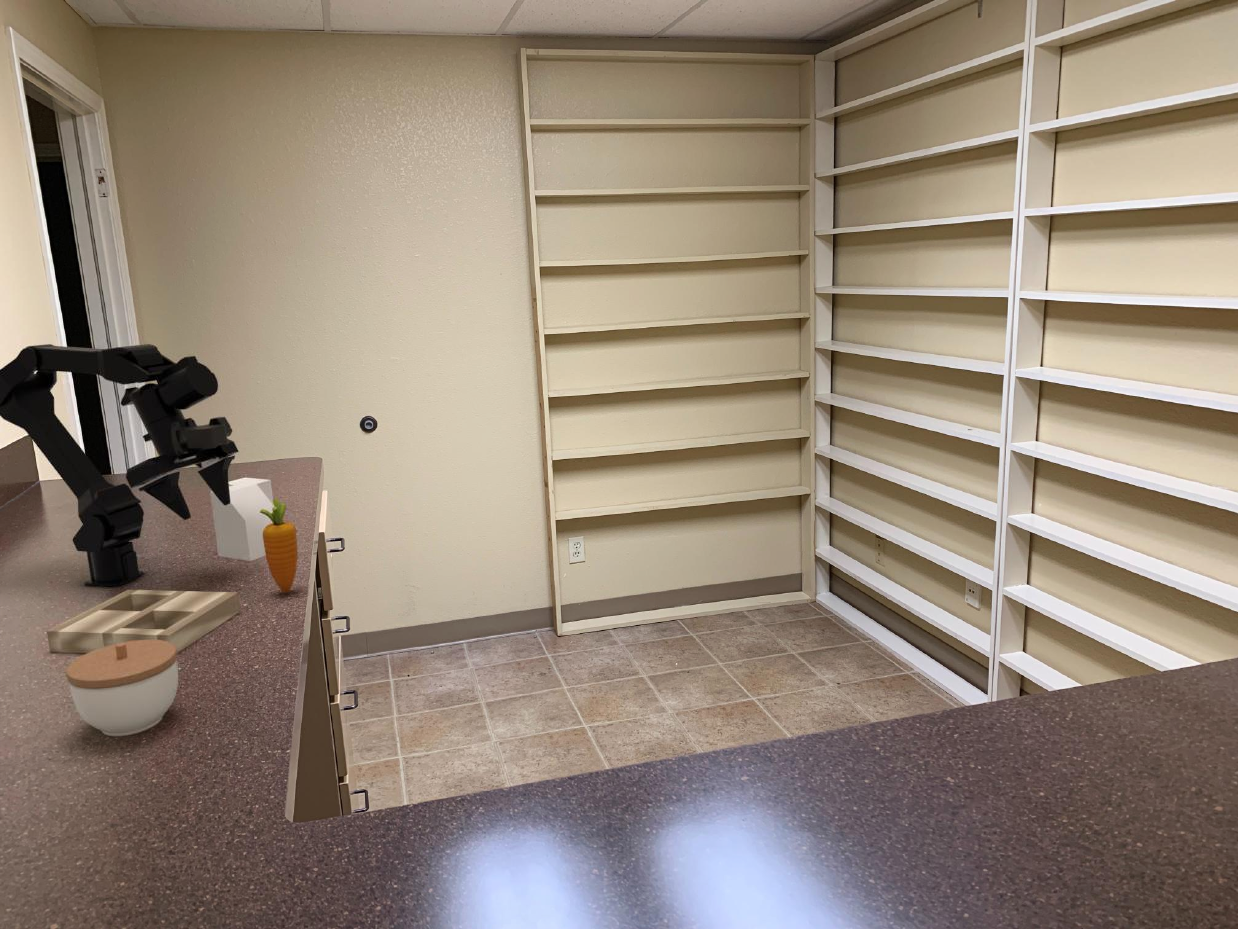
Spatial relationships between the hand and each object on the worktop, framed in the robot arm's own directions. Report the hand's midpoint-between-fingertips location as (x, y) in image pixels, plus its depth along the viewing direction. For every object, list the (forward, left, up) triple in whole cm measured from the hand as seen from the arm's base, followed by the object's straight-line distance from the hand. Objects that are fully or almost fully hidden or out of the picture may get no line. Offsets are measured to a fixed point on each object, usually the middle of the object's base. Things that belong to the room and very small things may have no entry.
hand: (208, 511), depth 141 cm
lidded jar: (+17, -43, -13) cm, 47 cm away
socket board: (+1, -18, -13) cm, 22 cm away
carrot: (+13, -2, -13) cm, 18 cm away
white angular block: (-6, +20, -13) cm, 25 cm away
